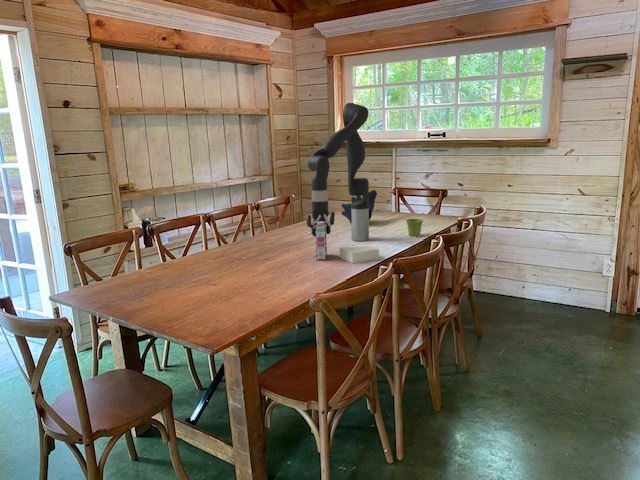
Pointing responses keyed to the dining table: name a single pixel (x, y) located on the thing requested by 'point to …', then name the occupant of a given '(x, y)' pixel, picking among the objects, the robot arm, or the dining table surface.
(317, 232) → the candy bar box
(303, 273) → the dining table surface
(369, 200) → the decorative plant
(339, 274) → the dining table surface
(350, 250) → the grey block
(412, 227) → the plant pot
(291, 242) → the dining table surface
